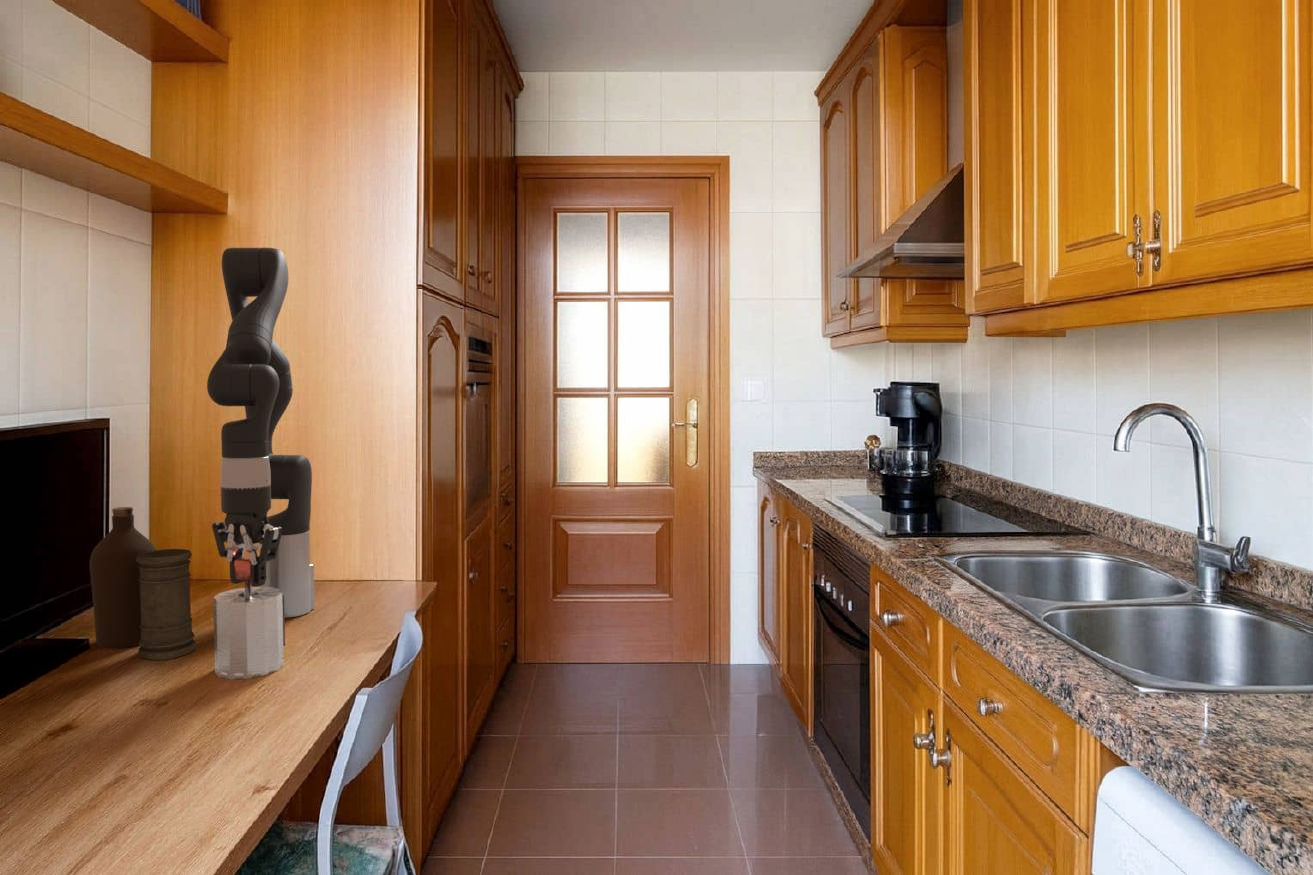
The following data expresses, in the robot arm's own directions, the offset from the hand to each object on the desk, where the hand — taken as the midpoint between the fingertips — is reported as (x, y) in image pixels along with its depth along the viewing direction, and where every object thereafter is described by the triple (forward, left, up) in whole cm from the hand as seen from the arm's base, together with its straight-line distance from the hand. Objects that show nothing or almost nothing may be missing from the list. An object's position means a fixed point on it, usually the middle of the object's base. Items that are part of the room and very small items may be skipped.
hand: (247, 583), depth 137 cm
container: (0, -20, -15) cm, 25 cm away
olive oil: (-1, -32, -15) cm, 35 cm away
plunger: (0, 0, -13) cm, 13 cm away
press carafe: (0, 0, -15) cm, 15 cm away
